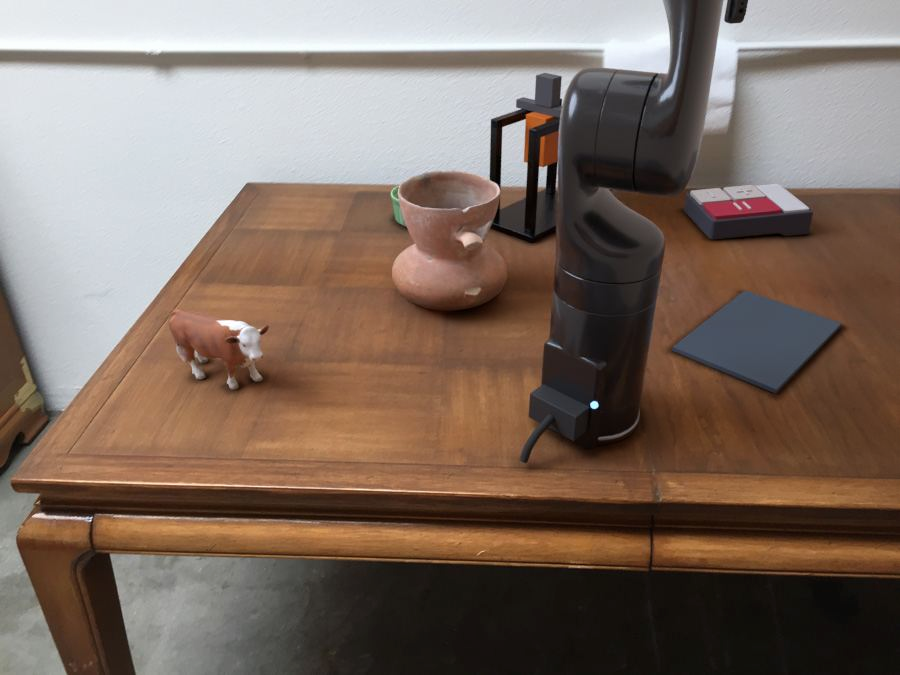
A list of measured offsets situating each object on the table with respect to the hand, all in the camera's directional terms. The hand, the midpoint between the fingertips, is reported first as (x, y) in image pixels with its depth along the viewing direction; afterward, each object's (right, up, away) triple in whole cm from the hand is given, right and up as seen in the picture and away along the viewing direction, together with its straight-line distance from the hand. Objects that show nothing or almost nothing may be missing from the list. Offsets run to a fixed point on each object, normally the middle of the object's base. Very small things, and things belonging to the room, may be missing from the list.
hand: (713, 16), depth 94 cm
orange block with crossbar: (-18, -13, +20) cm, 30 cm away
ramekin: (-37, -21, +24) cm, 49 cm away
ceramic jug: (-32, -33, +5) cm, 47 cm away
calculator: (+12, -22, +22) cm, 34 cm away
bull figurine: (-56, -44, -11) cm, 72 cm away
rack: (-18, -21, +25) cm, 37 cm away
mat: (+3, -39, -5) cm, 40 cm away
